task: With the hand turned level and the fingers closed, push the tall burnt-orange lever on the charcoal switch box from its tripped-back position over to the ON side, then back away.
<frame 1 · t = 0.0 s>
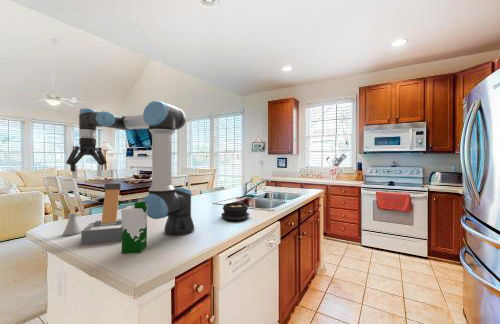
hand: (87, 177, 123), 28 cm above the counter, tool pointing down, fingers open, 13 cm apart
flask: (72, 234, 115), on the counter
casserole: (235, 217, 150), on the counter
switch box: (108, 237, 110), on the counter
lever: (111, 203, 114), point 16 cm above the counter, hinge at -28.0°
milk carton: (134, 250, 94), on the counter
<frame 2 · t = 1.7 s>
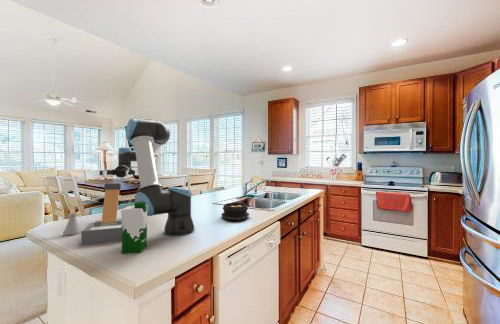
hand: (115, 173, 123), 30 cm above the counter, tool horizontal, fingers open, 10 cm apart
nothing on the counter moved.
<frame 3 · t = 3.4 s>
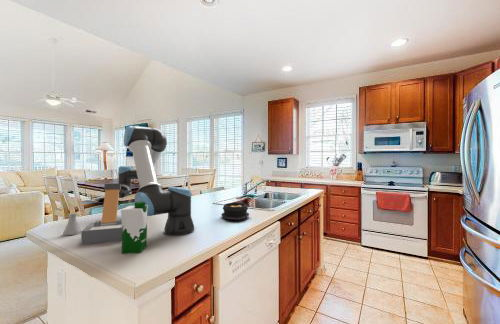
hand: (114, 197, 122), 17 cm above the counter, tool horizontal, fingers closed
nothing on the counter moved.
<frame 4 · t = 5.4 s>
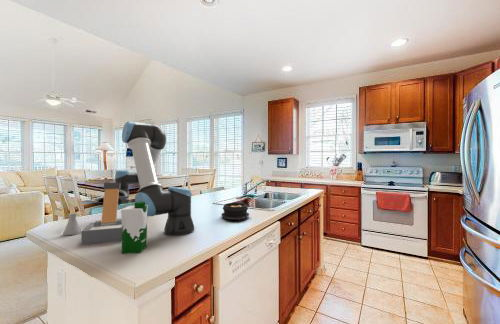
hand: (109, 204, 115), 15 cm above the counter, tool horizontal, fingers closed
lever: (110, 202, 114), point 16 cm above the counter, hinge at -23.9°, touching gripper
everything else where it was.
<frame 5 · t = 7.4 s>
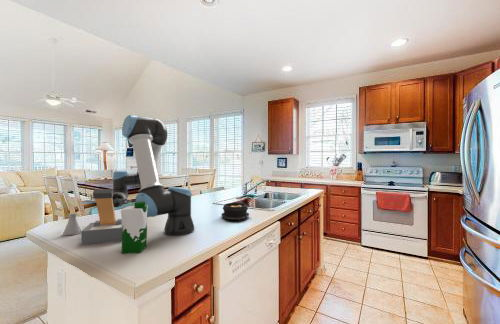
hand: (106, 208, 106), 15 cm above the counter, tool horizontal, fingers closed
lever: (105, 208, 104), point 15 cm above the counter, hinge at 31.9°, touching gripper
everything else where it was.
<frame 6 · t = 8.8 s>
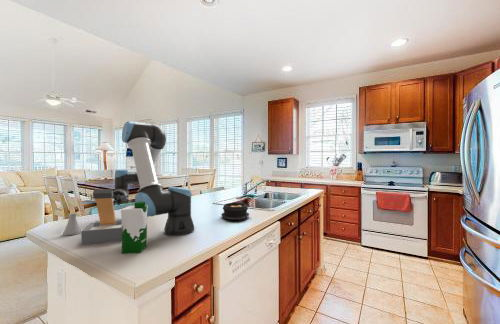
hand: (110, 203, 115), 15 cm above the counter, tool horizontal, fingers closed
lever: (105, 208, 104), point 15 cm above the counter, hinge at 31.9°
everything else where it was.
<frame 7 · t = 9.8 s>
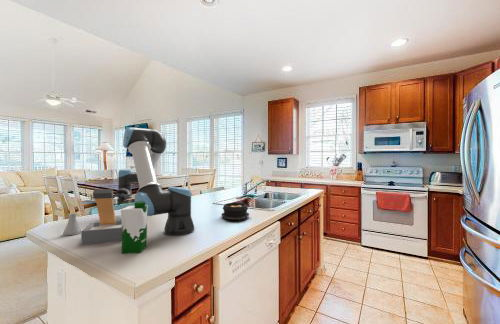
hand: (114, 201, 122), 15 cm above the counter, tool horizontal, fingers closed
nothing on the counter moved.
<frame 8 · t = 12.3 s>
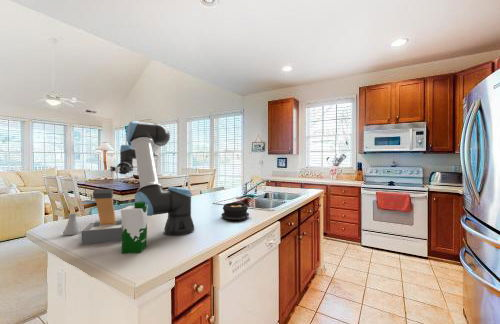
hand: (116, 169, 126), 32 cm above the counter, tool horizontal, fingers closed
nothing on the counter moved.
at the end: lever at +32° (first picture: -28°); flask moved 0.3 cm from its start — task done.
